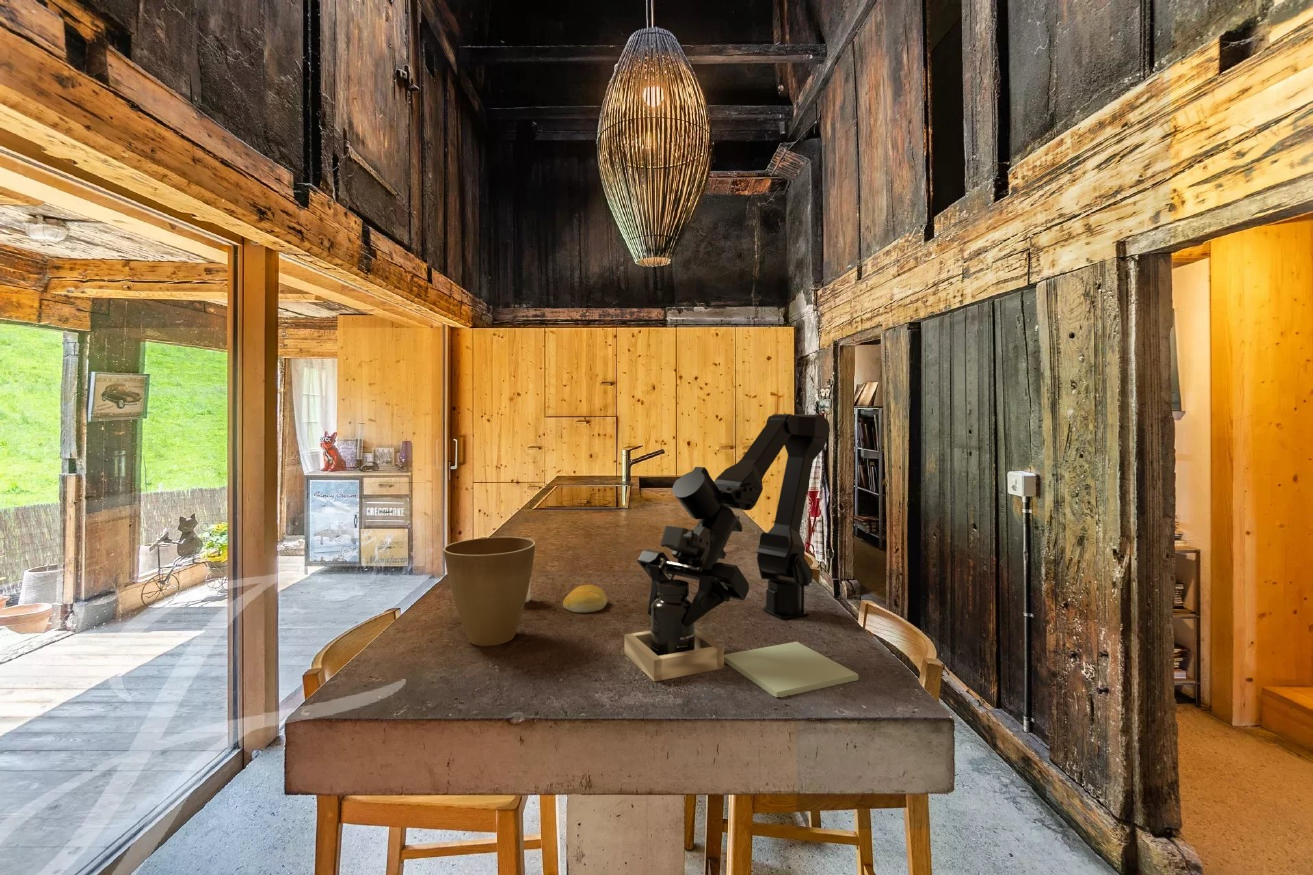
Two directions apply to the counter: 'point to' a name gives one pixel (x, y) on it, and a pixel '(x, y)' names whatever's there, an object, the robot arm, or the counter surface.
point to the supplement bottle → (671, 619)
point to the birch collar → (674, 657)
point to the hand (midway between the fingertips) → (667, 620)
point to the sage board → (789, 669)
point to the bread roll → (585, 599)
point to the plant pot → (490, 585)
